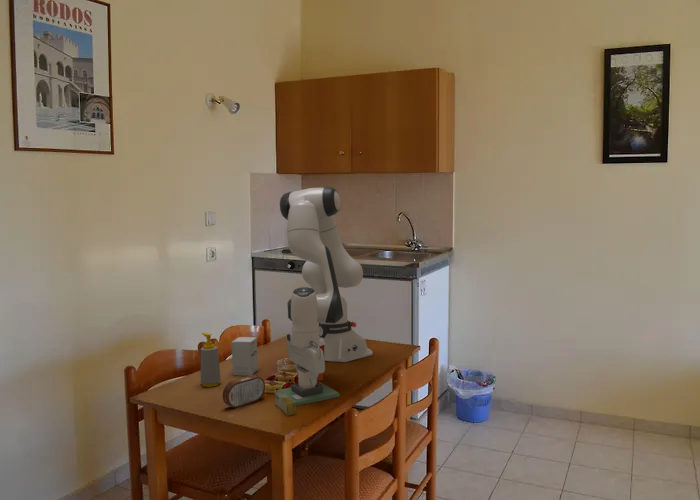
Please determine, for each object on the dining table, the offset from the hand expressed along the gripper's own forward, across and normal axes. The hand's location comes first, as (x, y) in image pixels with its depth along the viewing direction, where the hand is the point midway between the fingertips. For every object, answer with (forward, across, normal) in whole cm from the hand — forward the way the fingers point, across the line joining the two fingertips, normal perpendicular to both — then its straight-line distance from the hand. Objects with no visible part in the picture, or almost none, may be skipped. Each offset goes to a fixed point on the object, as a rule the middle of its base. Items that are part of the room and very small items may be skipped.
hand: (306, 380), depth 208 cm
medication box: (+5, -7, +11) cm, 14 cm away
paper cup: (+5, +14, -10) cm, 18 cm away
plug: (+4, 0, 0) cm, 4 cm away
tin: (+5, +4, +20) cm, 21 cm away
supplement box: (+5, +35, +8) cm, 36 cm away
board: (+5, 0, 0) cm, 5 cm away
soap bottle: (+5, +29, +23) cm, 37 cm away
